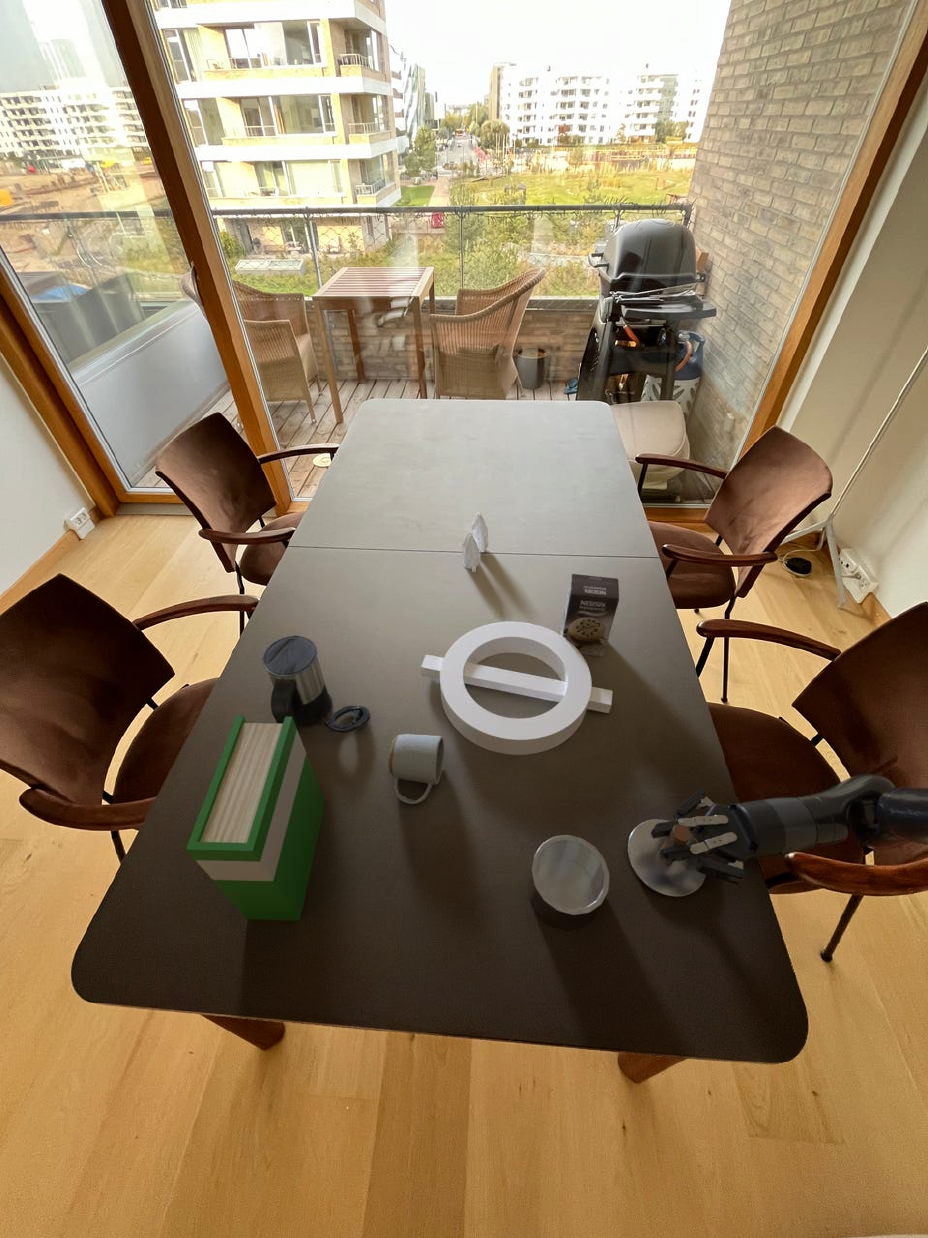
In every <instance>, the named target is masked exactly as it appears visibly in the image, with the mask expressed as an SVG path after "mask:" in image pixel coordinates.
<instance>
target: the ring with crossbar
mask: <svg viewBox="0 0 928 1238" xmlns="http://www.w3.org/2000/svg"><path fill="white" fill-rule="evenodd" d="M509 653H510V654H521V655H526V656H530V657H533V658H536V659H537V660H539V661H541V662H543V663H545V664H546V665H548V666H549V667H550V668H551V669H552V670H553V671H554V672H555V673H556V675H557V676H558V678H559V679H560V680H559V679H555V678H551V677H550V678H549V677H545V676H544V677H543V676H540V675H534V674H528V673H523V672H518V671H513V670H508V669H503V668H498V667H493V666H487V665H482V664H479V663H480V662H481V661H483V660H485V659H486V658H489V657H492V656H495V655H499V654H509ZM588 665H589V664H588V663H587V661H586V658H584V656H583V654H581V653H580V652H579V651H578V650H577V648H576V647H575V646H574V645H573V644H571V643H570V642H569V641H568V640H567V639H565V638H564V637H562V636H561V635H560V633H558V632H556V631H553V630H551V629H549V628H547V627H545V626H542V625H539V624H535V623H529V622H524V621H498V622H492V623H488V624H484V625H482V626H478V627H475V628H473V629H472V630H469V631H468V632H466V633H465V634H463V635H462V636H460V637H459V638H458V639H457V640H455V642H453V644H451V646H450V647H449V649H448V650H447V651H446V653H445V655H444V657H442V656H436V655H431V654H425V656H424V658H423V661H422V664H421V666H420V672H421V673H420V674H421V676H424V677H429V678H435V679H439V687H440V699H441V706H442V708H443V711H444V713H445V715H446V717H447V719H448V721H449V722H450V724H451V725H452V726H453V727H454V728H455V730H456V731H457V732H458V733H459V734H461V736H463V737H464V738H465V739H467V740H468V741H469V742H471V743H473V744H475V745H476V746H478V747H481V748H483V749H484V750H488V751H492V752H495V753H499V754H504V755H513V756H526V755H532V754H533V755H534V754H539V753H542V752H546V751H549V750H551V749H554V748H556V747H558V746H559V745H561V744H563V743H564V742H566V741H567V740H568V739H570V738H571V737H572V736H573V735H574V734H575V732H576V731H577V730H578V729H579V727H580V726H581V724H582V722H583V721H584V719H585V716H586V713H587V710H591V711H595V712H600V713H606V714H610V712H611V708H612V704H613V703H612V702H613V690H611V689H606V688H600V687H595V686H592V676H591V675H592V674H591V672H590V668H589V666H588ZM465 684H467V685H472V686H476V687H482V688H486V689H492V690H497V691H501V692H506V693H511V694H515V695H520V696H526V697H531V698H534V699H535V698H536V699H541V700H546V701H551V702H556V703H557V704H555V706H554V707H553V708H551V709H549V710H548V711H546V712H544V713H541V714H539V715H536V716H532V717H525V718H516V717H515V718H512V717H506V716H502V715H498V714H495V713H493V712H492V711H489V710H487V709H485V708H483V707H482V706H480V705H479V704H478V703H477V702H476V701H475V700H474V699H473V698H472V697H471V694H470V693H469V692H468V690H467V688H466V685H465Z"/></svg>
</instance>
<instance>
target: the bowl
mask: <svg viewBox="0 0 928 1238" xmlns="http://www.w3.org/2000/svg"><path fill="white" fill-rule="evenodd" d="M610 877H611V875H610V871H609V869H608V865H607V862H606V859H605V858H604V856H603V855H602V854H601V853H600V852H599V850H598V849H597V847H596V846H594V845H593V844H591V843H590V842H588V841H587V840H585V839H584V838H582V837H579V836H574V835H570V834H565V835H564V834H563V835H556V836H553V837H551V838H549V839H547V840H546V841H545V842H543V843H541V844H540V846H539V848H538V849H537V851H536V852H535V854H534V855H533V859H532V864H531V868H530V873H529V878H528V884H527V889H528V890H527V892H528V898H529V901H530V903H531V906H532V908H533V910H534V912H535V913H536V914H537V916H539V918H540V919H541V920H542V921H543V922H544V923H546V924H547V925H548V926H551V927H552V928H554V929H557V930H561V931H571V932H572V931H576V930H581V929H582V928H585V927H587V926H588V925H589V924H591V922H592V921H594V919H595V918H596V916H597V914H598V912H599V911H600V909H601V907H602V905H603V903H604V901H605V899H606V897H607V895H608V893H609V890H610V880H611V879H610Z"/></svg>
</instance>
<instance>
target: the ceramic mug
mask: <svg viewBox="0 0 928 1238" xmlns="http://www.w3.org/2000/svg"><path fill="white" fill-rule="evenodd" d="M443 738H444V737H442V736H440V735H427V734H412V733H403V734H397V735H396V736H395V737H394V738H393V740H392V742H391V745H390V750H389V755H388V770H389V773H390V775H391V776H392V777H394V783H393V784H394V792H395V795H396V796H397V798H398V799H399V800H400V801H401V802H402V803H405V804H408V805H418V804H421V803H422V802H424V801H425V800H426V799H427V797H428V796H429V794H430V792H431V790H432V787H433V785H438V784H439V782H440V779H441V775H442V772H443V764H444V755H445V743H444V739H443ZM400 780H404V781H412V782H417V783H422V784H423V783H424V784H427V788H426V790H425V792H424V793H423V795H422V796H420V797H419V798H418V799H411V798H408V797H407V796H406V795H402V794H401V793H400V790H399V781H400Z"/></svg>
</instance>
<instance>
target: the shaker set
mask: <svg viewBox="0 0 928 1238" xmlns="http://www.w3.org/2000/svg"><path fill="white" fill-rule="evenodd" d="M488 548H489V530H488V526H487V524H486V521H485V519H484V517H483V515H482V513H481V512H479V511H478V512H477V513H476V514H475V516H474V518H473V520H472V523H471V532H467V534H466V535H465V537H464V539H463V542H462V562H463V564H462V565H463V566H464V568H465V569H470V570H471V572H472V573H476V572H477V568H478V567H479V566H480V552H481V553H486V549H488Z"/></svg>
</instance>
